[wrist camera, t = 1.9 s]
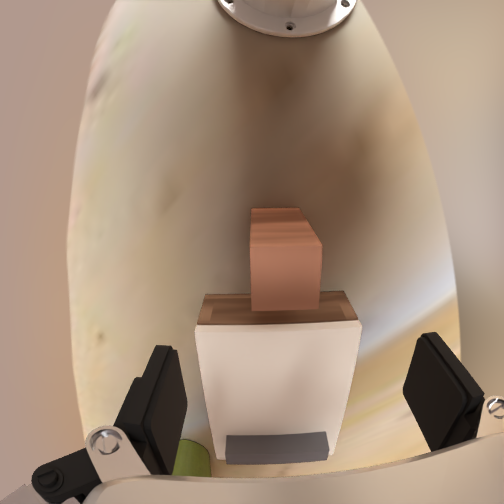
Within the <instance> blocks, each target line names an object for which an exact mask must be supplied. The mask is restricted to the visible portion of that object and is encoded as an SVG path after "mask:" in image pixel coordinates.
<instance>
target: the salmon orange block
mask: <svg viewBox="0 0 504 504" xmlns="http://www.w3.org/2000/svg"><path fill="white" fill-rule="evenodd" d="M322 247H323V245H322V244H321V242H320V240H319V239H318V237H317V236H316V234H315V232H314V231H313V229H312V228H311V226H310V224H309V223H308V221H307V220H306V218H305V216H304V215H303V213H302V212H301V210H300V209H299V208H251V229H250V273H251V306H252V311H279V310H307V309H319V297H320V282H321V266H322Z"/></svg>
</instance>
